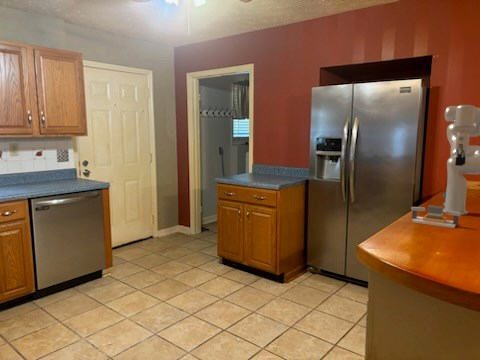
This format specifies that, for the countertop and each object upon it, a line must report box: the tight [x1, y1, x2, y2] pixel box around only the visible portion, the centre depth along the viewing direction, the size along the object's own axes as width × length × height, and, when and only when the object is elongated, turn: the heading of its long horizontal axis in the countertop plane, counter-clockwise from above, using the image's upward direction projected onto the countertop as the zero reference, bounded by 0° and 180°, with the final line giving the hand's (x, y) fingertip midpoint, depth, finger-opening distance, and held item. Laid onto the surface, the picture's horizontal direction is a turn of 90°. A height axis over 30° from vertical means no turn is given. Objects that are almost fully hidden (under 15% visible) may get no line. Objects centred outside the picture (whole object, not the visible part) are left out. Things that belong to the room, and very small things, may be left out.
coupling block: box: [426, 204, 444, 220], centre depth 174 cm, size 5×6×7 cm
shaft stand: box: [411, 206, 462, 229], centre depth 175 cm, size 21×10×7 cm, turn 53°
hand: (460, 164), depth 178 cm, fingers open, 9 cm apart
